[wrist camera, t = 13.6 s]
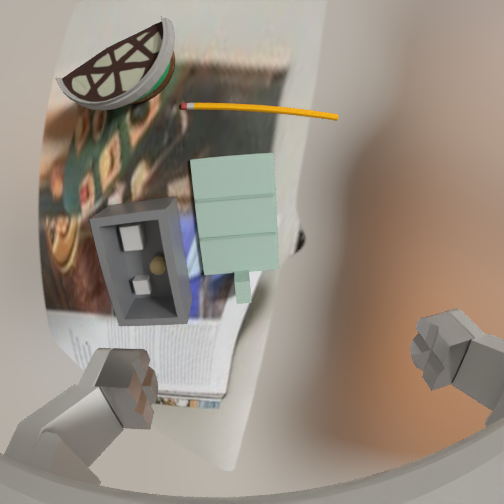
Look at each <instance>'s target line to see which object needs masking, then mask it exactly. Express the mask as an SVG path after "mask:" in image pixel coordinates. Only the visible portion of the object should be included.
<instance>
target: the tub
mask: <svg viewBox="0 0 504 504" xmlns="http://www.w3.org/2000/svg"><path fill="white" fill-rule="evenodd" d="M90 224H91V229H92V233H93V237H94V241H95V246H96V250H97V254H98V257H99V261H100V265H101V269H102V272H103V276H104V279H105V283H106V286H107V289H108V293H109V296H110V299H111V302H112V305H113V308H114V311H115V314H116V317H117V320H118V323H119V326H146V325H172V324H187V323H188V318H189V313H190V308H191V304H192V299H193V297H192V292H191V286H190V281H189V275H188V269H187V263H186V257H185V251H184V245H183V239H182V232H181V226H180V219H179V212H178V205H177V197H167V198H159V199H151V200H144V201H136V202H129V203H122V204H116V205H109V206H108V207H106V208H105V209H103V210H102V211H100V212H99V213H98V214H96V215H95V216H93V217H92V218H90Z"/></svg>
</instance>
